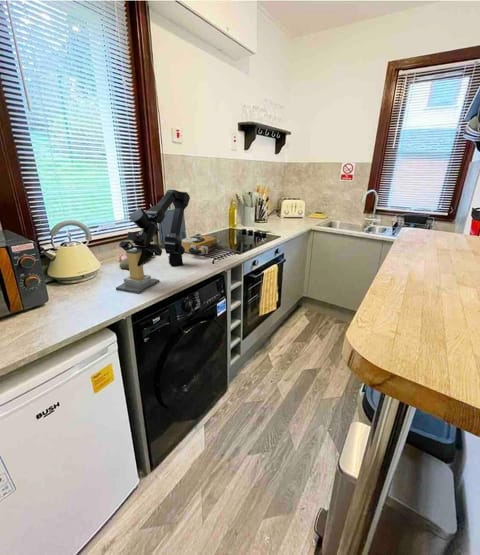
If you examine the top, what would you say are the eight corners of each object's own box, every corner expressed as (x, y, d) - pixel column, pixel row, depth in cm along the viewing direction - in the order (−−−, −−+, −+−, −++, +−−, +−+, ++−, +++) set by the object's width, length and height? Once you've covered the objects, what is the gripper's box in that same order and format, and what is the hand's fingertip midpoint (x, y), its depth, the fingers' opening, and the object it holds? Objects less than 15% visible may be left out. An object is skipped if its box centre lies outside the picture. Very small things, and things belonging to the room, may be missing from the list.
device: (227, 236, 177) (199, 246, 152) (227, 248, 180) (200, 260, 155) (198, 232, 187) (168, 241, 162) (199, 244, 190) (169, 254, 165)
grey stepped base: (137, 278, 129) (136, 270, 127) (159, 281, 125) (158, 273, 124) (116, 289, 117) (114, 281, 115) (139, 293, 113) (138, 284, 111)
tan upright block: (136, 276, 122) (131, 246, 117) (144, 277, 121) (140, 247, 115) (130, 279, 119) (125, 248, 114) (139, 280, 117) (134, 249, 112)
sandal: (158, 254, 166) (157, 241, 163) (136, 271, 139) (133, 256, 136) (140, 253, 168) (138, 241, 165) (114, 269, 140) (111, 255, 137)
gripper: (118, 222, 117) (103, 254, 112) (155, 225, 112) (141, 258, 106) (133, 236, 127) (120, 266, 122) (167, 239, 121) (155, 271, 116)
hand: (133, 265), depth 116 cm, fingers closed on tan upright block, 4 cm apart
